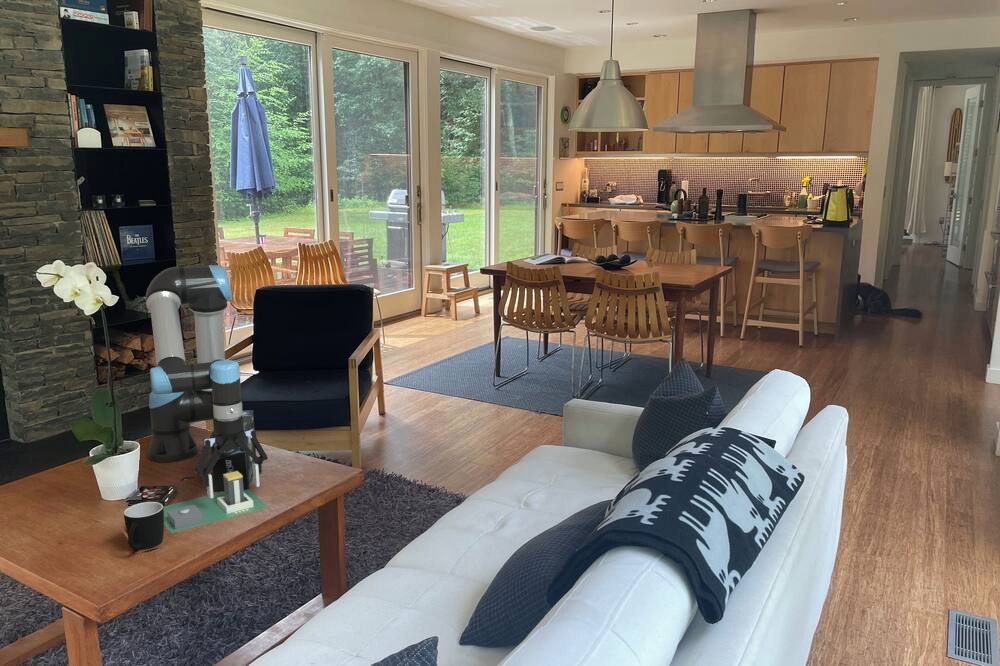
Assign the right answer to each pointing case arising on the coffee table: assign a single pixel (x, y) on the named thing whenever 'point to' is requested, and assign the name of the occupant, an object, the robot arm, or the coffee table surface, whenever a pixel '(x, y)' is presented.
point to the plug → (233, 488)
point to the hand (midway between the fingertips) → (233, 490)
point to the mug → (144, 525)
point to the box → (235, 458)
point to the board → (207, 510)
